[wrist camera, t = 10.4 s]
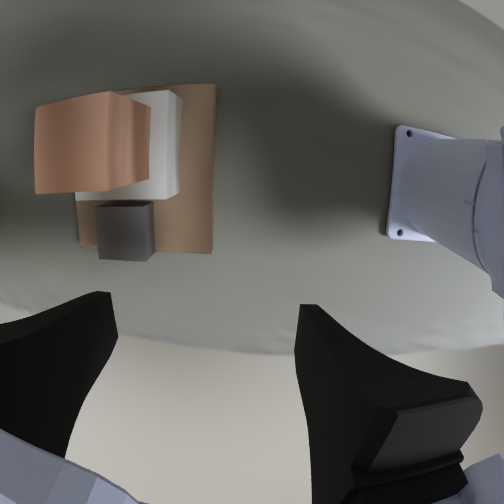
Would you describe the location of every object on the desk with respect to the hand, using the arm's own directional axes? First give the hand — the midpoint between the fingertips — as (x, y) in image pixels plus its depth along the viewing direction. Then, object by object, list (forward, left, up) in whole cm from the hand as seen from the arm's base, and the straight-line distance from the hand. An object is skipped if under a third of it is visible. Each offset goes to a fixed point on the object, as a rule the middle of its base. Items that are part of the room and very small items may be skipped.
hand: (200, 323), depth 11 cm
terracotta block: (+6, -7, -6) cm, 11 cm away
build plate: (+6, -5, -10) cm, 13 cm away
